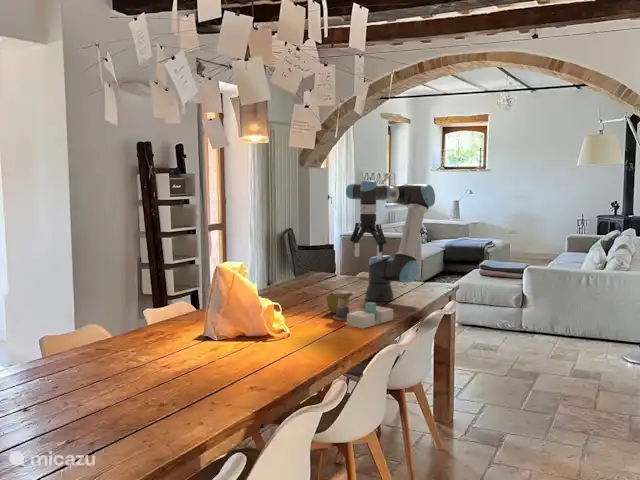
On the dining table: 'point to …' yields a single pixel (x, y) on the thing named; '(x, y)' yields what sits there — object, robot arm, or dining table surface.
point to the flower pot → (333, 302)
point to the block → (370, 308)
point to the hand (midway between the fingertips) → (367, 257)
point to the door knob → (342, 305)
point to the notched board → (369, 317)
